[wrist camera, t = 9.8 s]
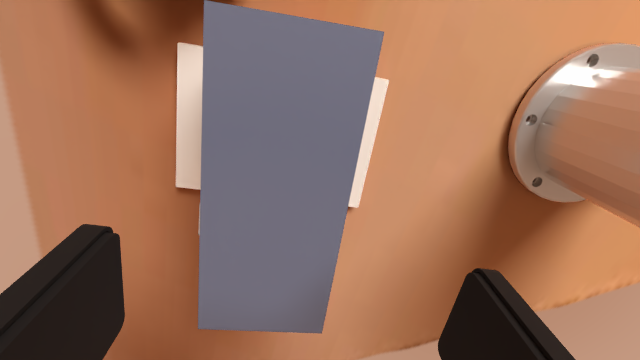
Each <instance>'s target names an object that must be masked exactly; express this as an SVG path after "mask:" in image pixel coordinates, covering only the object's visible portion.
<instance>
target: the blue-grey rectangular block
mask: <svg viewBox="0 0 640 360" xmlns="http://www.w3.org/2000/svg"><path fill="white" fill-rule="evenodd" d="M383 36H384V32H382V31H376V30H371V29H365V28H360V27H354V26H348V25H343V24H337V23H331V22H326V21H320V20H314V19H309V18H303V17H297V16H292V15H286V14H280V13H275V12H269V11H263V10H258V9H252V8H246V7H241V6H235V5H229V4H224V3H218V2H212V1H207V0H204V28H203V82H202V136H201V190H200V244H199V298H198V329H212V330H240V331H269V332H297V333H322V330H323V325H324V321H325V316H326V311H327V306H328V301H329V296H330V292H331V287H332V282H333V277H334V272H335V267H336V263H337V258H338V253H339V248H340V243H341V238H342V234H343V229H344V224H345V219H346V214H347V209H348V205H349V200H350V195H351V190H352V185H353V181H354V176H355V171H356V166H357V161H358V156H359V152H360V147H361V142H362V137H363V132H364V127H365V123H366V118H367V113H368V108H369V103H370V98H371V94H372V89H373V84H374V79H375V74H376V69H377V65H378V60H379V55H380V50H381V45H382V40H383Z"/></svg>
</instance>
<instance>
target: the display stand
mask: <svg viewBox="0 0 640 360" xmlns="http://www.w3.org/2000/svg"><path fill="white" fill-rule="evenodd" d="M202 82H203V46H199V45H194V44H188V43H183V42H180V43H178V52H177V132H176V187H181V188H190V189H199V190H201V136H202ZM388 83H389V80H387V79H384V78H378V77H375V79H374V84H373V89H372V94H371V98H370V103H369V108H368V113H367V118H366V123H365V127H364V132H363V137H362V142H361V147H360V152H359V156H358V161H357V166H356V171H355V176H354V181H353V185H352V190H351V195H350V200H349V205H348V207H357V208H358V206H359V202H360V198H361V194H362V190H363V186H364V181H365V177H366V173H367V169H368V165H369V161H370V157H371V153H372V149H373V145H374V141H375V136H376V132H377V128H378V124H379V120H380V116H381V112H382V108H383V104H384V100H385V95H386V91H387V87H388ZM198 235H200V207H199V231H198Z"/></svg>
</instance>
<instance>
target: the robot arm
mask: <svg viewBox="0 0 640 360" xmlns="http://www.w3.org/2000/svg"><path fill="white" fill-rule="evenodd" d="M508 152H509V160H510V164H511V167H512V169H513V172H514V174H515V176H516V177H517V179H518V180H519V181H520V183H521V184H522V185H524V186H525V187H526V188H527V189H528V190H529V191H531V192H533V193H535V194H536V195H538V196H539V197H542V198H544V199H547V200H550V201H555V202H563V203H566V202H578V201H582V200H588V201H590V202H592V203H594V204H596V205H598V206H600V207H602V208H604V209H605V210H607V211H609V212H611V213H613V214H615V215H617V216H619V217H620V218H622V219H624V220H626V221H628V222H630V223H632V224H634V225H636V226H637V227H639V228H640V46H638V45H634V44H624V43H607V44H598V45H594V46H590V47H586V48H584V49H581V50H579V51H577V52H574V53H572V54H570V55H568V56H567V57H565V58H564V59H562V60H560V61H559V62H557V63H556V64H554V65H553V66H552V67H551V68H550V69H549V70H547V71H546V72H545V73H544V74H543V75H542V76H541V77H540V78H539V79H538V80H537V81H536V82H535V84H534V85H533V86H532V87H531V88H530V89H529V91H528V92H527V94H526V96H525V97H524V99H523V100H522V102H521V103H520V105H519V108H518V110H517V112H516V114H515V117H514V119H513V122H512V126H511V130H510V133H509V144H508ZM124 317H125V312H124V296H123V281H122V265H121V250H120V238H119V235H118V234H116V233H113V230H112V228H110V227H107V226H98V225H89V224H83V225H81V226H80V227H79V228H77V229H76V230H75V231H74V232H73V233H72V234H70V235H69V236H68V237H67V238H66V239H65V240H63V241H62V242H61V243H60V244H59V245H58V246H56V247H55V248H54V249H53V250H52V251H51V252H49V253H48V254H47V255H46V256H45V257H43V258H42V259H41V260H40V261H39V262H38V263H36V264H35V265H34V266H33V267H32V268H31V269H30V270H29V271H27V272H26V273H25V274H24V275H22V276H21V277H20V278H19V279H18V280H17V281H15V282H14V283H13V284H12V285H11V286H10V287H9V288H7V289H6V290H5V291H4V292H3V293H1V294H0V360H102V359H103V358H104V356H105V355H106V353H107V351H108V350H109V348H110V346H111V345H112V343H113V341H114V340H115V338H116V337H117V335H118V333H119V332H120V330H121V328H122V325H123V322H124ZM438 351H439V355H440V357H441V359H442V360H575V359H574V357H573V356H572V355H571V354H570V353H569V352H568V351H567V349H566V348H565V347H564V346H563V345H562V344H561V342H560V341H559V340H558V339H557V338H556V337H555V335H554V334H553V333H552V332H551V331H550V330H549V328H548V327H547V326H546V325H545V324H544V323H543V322H542V320H541V319H540V318H539V317H538V316H537V315H536V314H535V312H534V311H533V310H532V309H531V308H530V307H529V305H528V304H527V303H526V302H525V301H524V300H523V298H522V297H521V296H520V295H519V294H518V293H517V292H516V290H515V289H514V288H513V287H512V286H511V285H510V283H509V282H508V281H507V280H506V279H505V278H504V276H503V275H502V274H501V273H500V272H499V271H496V270H489V269H480V268H477V269H474V270H473V271H472V273H468V274H467V276H466V278H465V280H464V282H463V285H462V287H461V289H460V292H459V294H458V296H457V299H456V301H455V304H454V306H453V308H452V311H451V313H450V315H449V318H448V320H447V322H446V325H445V327H444V330H443V332H442V334H441V337H440V339H439V342H438Z"/></svg>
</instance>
